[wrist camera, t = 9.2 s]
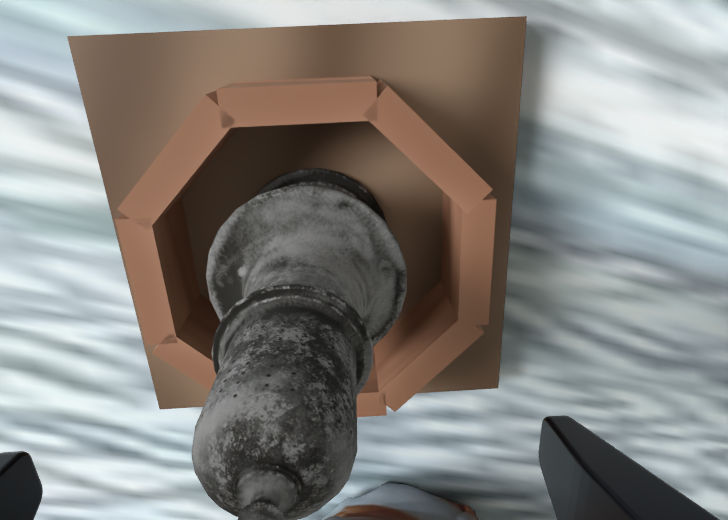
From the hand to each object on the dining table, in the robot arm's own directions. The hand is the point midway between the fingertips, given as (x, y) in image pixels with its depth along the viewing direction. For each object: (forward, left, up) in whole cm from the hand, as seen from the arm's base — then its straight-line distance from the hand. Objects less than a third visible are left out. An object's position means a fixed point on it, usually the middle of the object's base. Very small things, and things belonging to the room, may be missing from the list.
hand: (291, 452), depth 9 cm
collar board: (0, 0, -11) cm, 11 cm away
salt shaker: (0, 0, -10) cm, 10 cm away
